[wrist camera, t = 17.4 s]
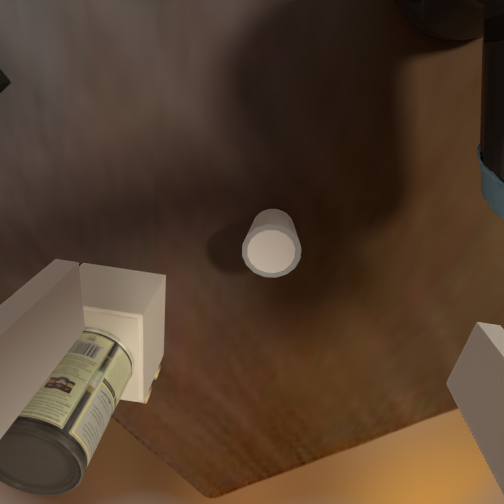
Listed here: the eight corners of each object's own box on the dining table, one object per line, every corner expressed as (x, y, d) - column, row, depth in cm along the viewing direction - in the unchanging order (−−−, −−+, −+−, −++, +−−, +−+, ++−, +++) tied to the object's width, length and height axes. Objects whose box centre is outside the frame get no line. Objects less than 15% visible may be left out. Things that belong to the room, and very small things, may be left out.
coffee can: (75, 391, 50) (5, 498, 38) (43, 330, 46) (-48, 429, 33) (146, 385, 49) (98, 495, 36) (120, 322, 44) (55, 422, 32)
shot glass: (305, 210, 47) (309, 232, 41) (291, 257, 50) (292, 283, 44) (253, 198, 47) (248, 218, 40) (242, 245, 50) (236, 271, 44)
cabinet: (166, 275, 53) (142, 317, 44) (163, 362, 60) (143, 413, 51) (83, 262, 53) (42, 301, 44) (90, 351, 60) (57, 400, 51)
